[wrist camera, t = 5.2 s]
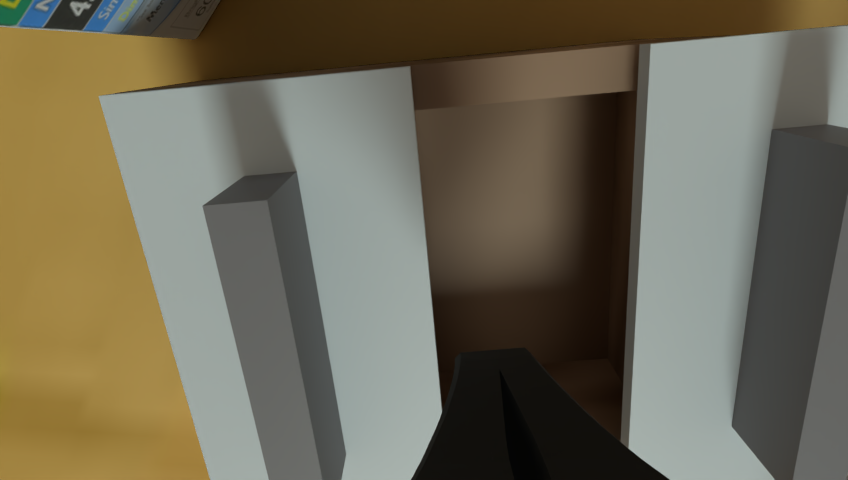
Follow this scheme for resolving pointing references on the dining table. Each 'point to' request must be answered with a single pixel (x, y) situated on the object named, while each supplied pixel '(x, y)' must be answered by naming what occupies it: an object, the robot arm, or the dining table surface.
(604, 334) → the walnut box
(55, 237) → the dining table surface
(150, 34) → the light bulb box
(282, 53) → the dining table surface
